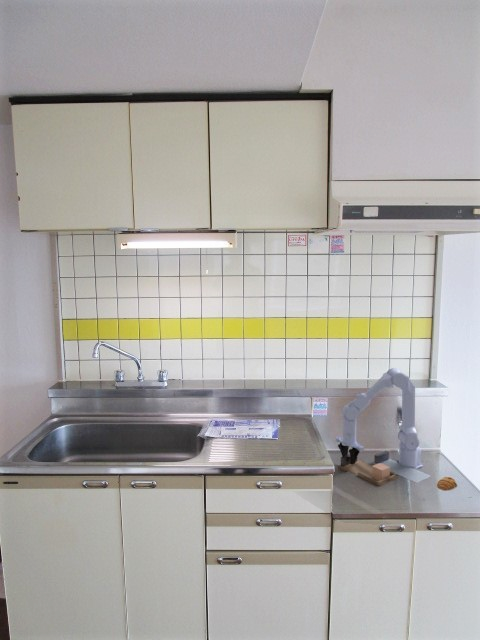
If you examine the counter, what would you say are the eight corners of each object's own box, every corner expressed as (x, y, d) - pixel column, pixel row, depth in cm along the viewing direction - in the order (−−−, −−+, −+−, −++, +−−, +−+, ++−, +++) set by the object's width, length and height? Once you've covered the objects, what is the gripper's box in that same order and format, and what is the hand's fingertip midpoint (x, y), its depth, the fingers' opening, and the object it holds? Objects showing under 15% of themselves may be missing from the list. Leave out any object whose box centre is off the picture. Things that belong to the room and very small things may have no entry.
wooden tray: (356, 461, 195) (356, 451, 195) (398, 481, 177) (398, 469, 177) (337, 468, 189) (338, 458, 188) (379, 489, 171) (379, 477, 170)
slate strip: (386, 460, 197) (387, 449, 196) (431, 479, 178) (431, 467, 178) (372, 466, 191) (372, 455, 190) (416, 486, 173) (417, 474, 172)
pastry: (449, 497, 165) (450, 487, 165) (432, 490, 170) (432, 481, 169) (458, 488, 172) (459, 479, 171) (441, 482, 176) (441, 473, 176)
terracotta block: (379, 474, 180) (379, 462, 180) (389, 478, 176) (390, 467, 176) (371, 477, 178) (372, 465, 177) (381, 482, 174) (382, 470, 173)
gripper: (331, 429, 193) (330, 458, 195) (356, 439, 181) (355, 470, 183) (341, 426, 197) (341, 454, 199) (367, 435, 185) (366, 465, 187)
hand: (349, 461), depth 191 cm, fingers open, 4 cm apart
